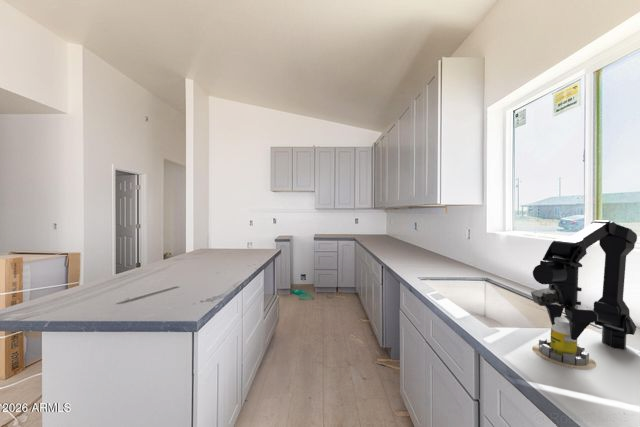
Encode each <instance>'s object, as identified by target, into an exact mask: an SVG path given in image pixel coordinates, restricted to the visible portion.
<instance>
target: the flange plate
mask: <svg viewBox="0 0 640 427" xmlns="http://www.w3.org/2000/svg"><path fill="white" fill-rule="evenodd" d="M532 351H533V353H534V354H536V355H537V356H539V357H540V358H542V359H544V360H546V361H548V362H550V363H552V364H555V365H559V366H562V367H567V368H571V369H577V370H593V369H596V367H597V362H595V360H594V359H593V358H591V357H590V356H589V363H588V364H587V365H585V366H576V365H575V366H573V365H568V364H563V363H560V362H557V361H554V360H552V359H550V358H547V357H546V356H544V355H543V354H541V353H540V351H539V343H538V344H535V345H533V346H532ZM576 357H579V356H576Z"/></svg>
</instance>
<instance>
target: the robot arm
mask: <svg viewBox="0 0 640 427" xmlns="http://www.w3.org/2000/svg"><path fill="white" fill-rule="evenodd" d="M598 241H599V246H600V248H601V250H602V251H603V252H604V255H605V256H604V257H605V258H604V268H603V269H604V270H603V271H604V272H603V283H602V295H601V297H600V298H599V299H598V300H595V301H594V302H593V309H592V308H590V307H588V306H582V301H580V300H578V295H579V294H578V293H579V292H582V290H583V289H582V287H580V286H579V268H582V267H583V264H582V263H581V262H580V261H581V260H582V259H583V258H584V257H585V256H586V255H587V254H588V253H587V250H588V248H590V247H591V246H592V245H594V244H595V243H597V242H598ZM637 241H638V235H637V233H636V232H635V231H634V230H632V229H631V228H629V227H626V226H624V225H620V224H617V223H616V222H614V221H610V220H597V219H596V220H592V221H591V223H590V224H589V225H587V226H586V227H584V228H582V229H581V230H579V231H578V232H576V233H574V234H573V235H571V236H566V237H559V238H556V239H554V240H553V241H552V242H551V243H550V245H549V247H547V250H546V252H545V254H544V255H543V258H542V260H540V262H539V263H540V264H537V265H536V266H535V267H534V268H533V270H532V276H533V279H534V280H535V281H536V282H537V283H539V284H540V285H548V287H547V288H546V287H545V288H541V289H538V290H533V291H531V292H530V295H531V297H532V300H533V303H534V304H537V305H538V306H540V307H544V308H545V309H546V311H547V314H548V317H549V321H550V325H551V326H552V325H554V324H555V322H554V319H555V317H562V314H563V312H564V317H563V318H566V319H567V320H568V321H569V324H570V335H571V339H572V340H576V339H577V340H578V338H579V337H580V336H581V335H582V333H583V332H584V331H585V330H586V328H588V327H589V326H590V324H592V323H594V325H595V326H599V327H601V343H602V344H604V345H606V346H609V347H611V348H613V349H617V350H623V351H625V350H626V348H627V335H633V336H634V335H635V333H636V331H637V325H636V324H635V322H634V320H633V319H632V317H631V316H630V308H629V307H628V305H627V304H626V302H625V301H624V291H625V276H626V265H627V264H626V263H627V256H628V255H630V253H631V252H632V251H633V250H634V249H635V246H636V243H637Z"/></svg>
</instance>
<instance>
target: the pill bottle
mask: <svg viewBox="0 0 640 427" xmlns="http://www.w3.org/2000/svg"><path fill="white" fill-rule="evenodd" d="M554 322H555V324H554V325H552V324H551V327H550V341H551V342H550V347H552V348H553V352H556V353H559V354H561V355H562V351H563V352H568V353H574V354H575V357H576V356H577V344H578V338H577V339H576V340H572V339H571V335H570V324H569V321H568V320H567V319H566V318H565V317H563V316H561V317H555V319H554Z"/></svg>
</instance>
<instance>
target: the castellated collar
mask: <svg viewBox="0 0 640 427" xmlns="http://www.w3.org/2000/svg"><path fill="white" fill-rule="evenodd" d="M550 342H551V340H548V339H547V338H545V337H541V338H540V339H538V344H539V351H540V353H541V354H543V355H544V356H546V357H547V358H550V359H552V360H554V361H557V362H560V363H563V364H568V365H573V366H575V365H576V366H585V365H587V364H588V363H589V357H590V352H588V351H585V350H586V349H585V347H584V346H582V345H580V344H578V343H577V356H579V357H575V354H574V353H568V352H563V351H562V355H561V354H559V353H556V352H553V348H552V347H550Z"/></svg>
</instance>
